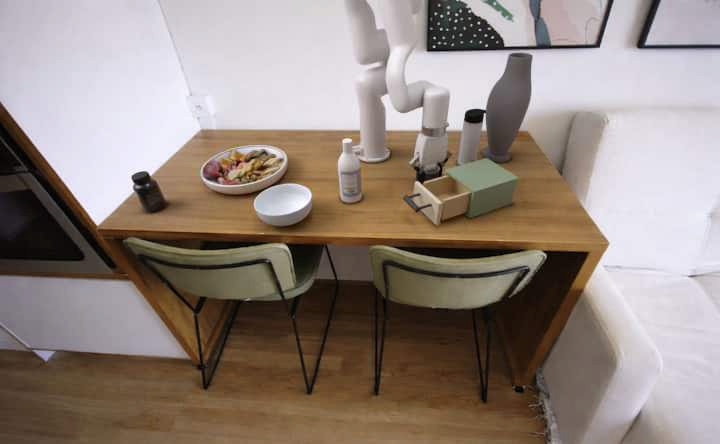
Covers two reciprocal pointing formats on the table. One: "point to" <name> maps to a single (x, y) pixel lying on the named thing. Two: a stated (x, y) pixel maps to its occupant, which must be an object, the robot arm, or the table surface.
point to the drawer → (440, 198)
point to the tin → (431, 172)
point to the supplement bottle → (148, 192)
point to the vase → (508, 106)
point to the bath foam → (349, 174)
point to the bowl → (244, 169)
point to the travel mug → (470, 136)
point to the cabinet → (485, 185)
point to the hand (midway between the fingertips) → (428, 178)
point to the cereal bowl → (283, 204)
